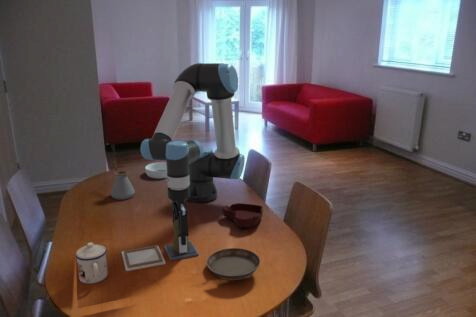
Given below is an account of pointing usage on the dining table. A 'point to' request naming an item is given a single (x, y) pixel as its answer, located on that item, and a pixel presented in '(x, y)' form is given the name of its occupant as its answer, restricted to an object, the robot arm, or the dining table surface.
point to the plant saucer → (233, 263)
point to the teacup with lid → (92, 263)
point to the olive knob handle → (176, 238)
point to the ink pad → (177, 255)
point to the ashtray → (243, 214)
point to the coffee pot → (121, 185)
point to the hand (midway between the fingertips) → (181, 247)
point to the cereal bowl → (156, 170)
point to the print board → (142, 258)
